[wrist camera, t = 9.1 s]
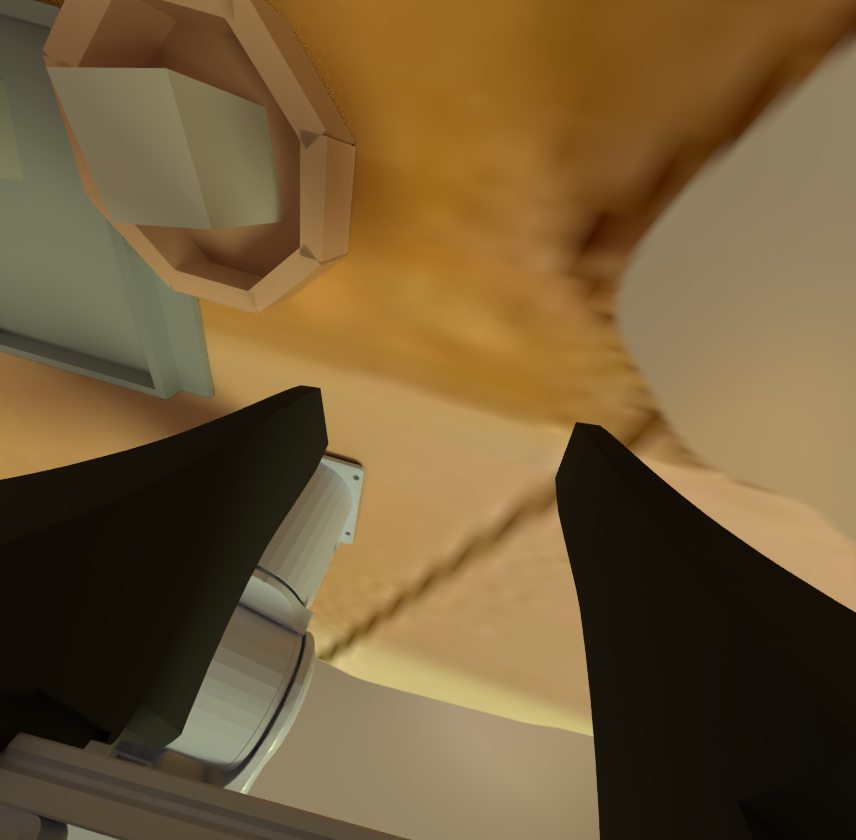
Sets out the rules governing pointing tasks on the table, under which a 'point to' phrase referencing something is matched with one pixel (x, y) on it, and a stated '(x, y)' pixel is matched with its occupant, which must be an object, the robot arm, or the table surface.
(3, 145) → the beige square block
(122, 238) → the parts tray
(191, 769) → the robot arm
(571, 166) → the table surface
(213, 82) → the bowl
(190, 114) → the sage green cube
